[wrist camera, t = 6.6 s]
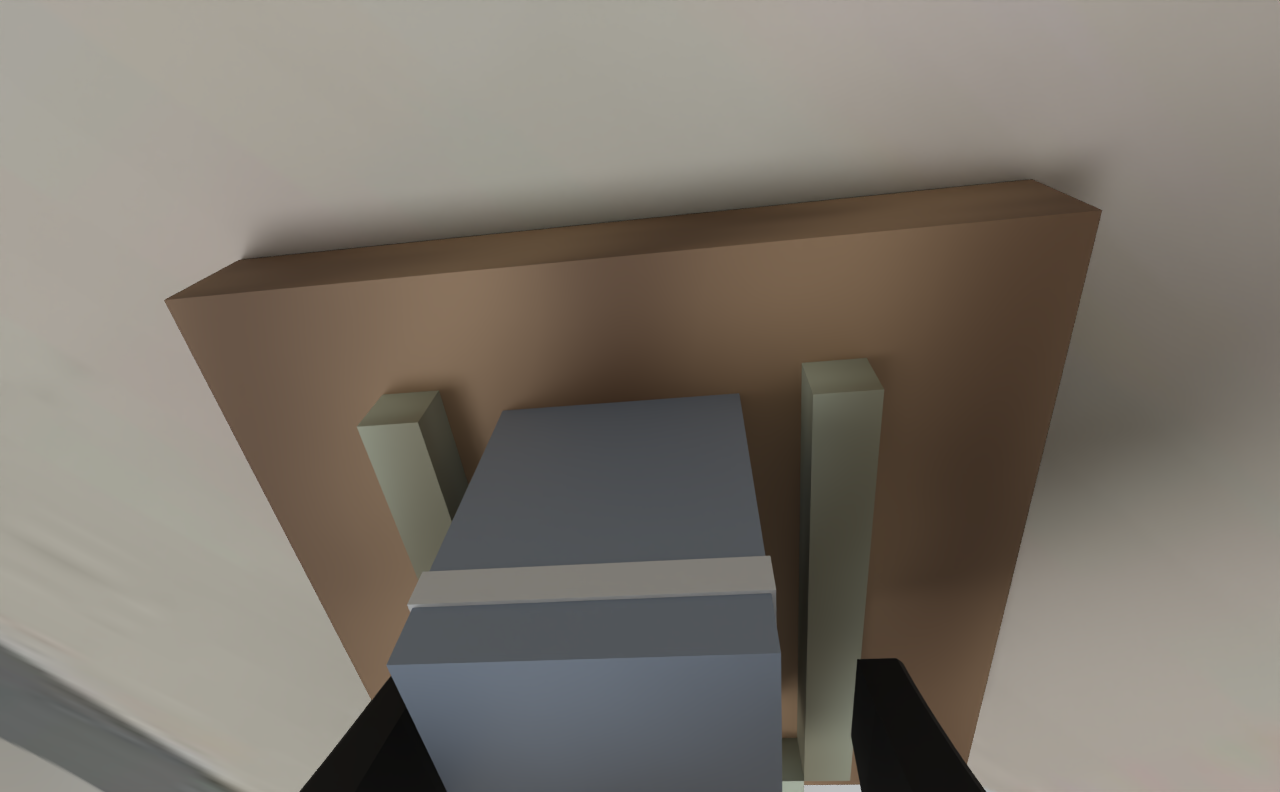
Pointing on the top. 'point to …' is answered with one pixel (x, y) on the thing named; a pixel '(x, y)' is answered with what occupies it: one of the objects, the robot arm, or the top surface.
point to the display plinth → (686, 367)
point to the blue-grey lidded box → (601, 609)
